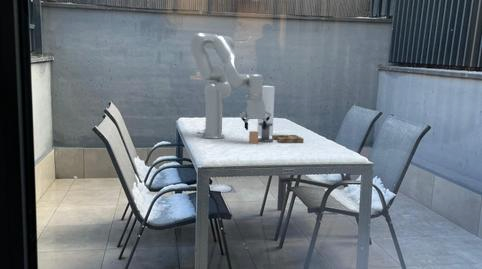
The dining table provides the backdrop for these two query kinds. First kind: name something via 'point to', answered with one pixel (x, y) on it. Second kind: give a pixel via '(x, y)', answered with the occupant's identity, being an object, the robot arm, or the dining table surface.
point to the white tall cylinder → (268, 107)
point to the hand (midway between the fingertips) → (255, 129)
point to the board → (287, 138)
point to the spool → (265, 133)
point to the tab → (253, 137)
